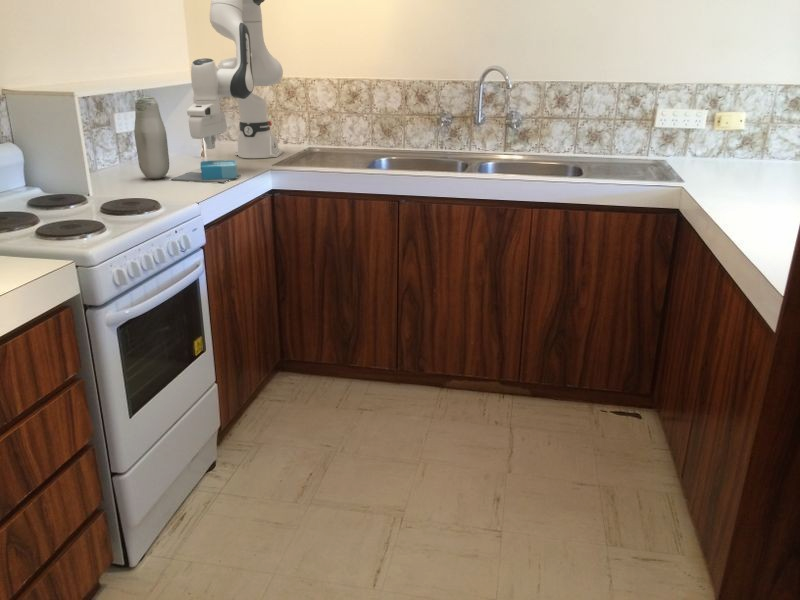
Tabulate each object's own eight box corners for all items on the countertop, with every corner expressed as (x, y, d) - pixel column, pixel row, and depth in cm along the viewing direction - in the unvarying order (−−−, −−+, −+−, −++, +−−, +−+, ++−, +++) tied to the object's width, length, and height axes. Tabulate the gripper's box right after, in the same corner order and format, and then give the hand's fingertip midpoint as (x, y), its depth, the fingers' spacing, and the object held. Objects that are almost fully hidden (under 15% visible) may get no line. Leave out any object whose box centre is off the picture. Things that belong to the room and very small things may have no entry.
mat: (190, 173, 246) (189, 172, 246) (240, 176, 242) (240, 174, 241) (170, 180, 234) (170, 178, 234) (223, 183, 230) (223, 181, 230)
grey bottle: (144, 175, 241) (133, 94, 231) (174, 175, 242) (164, 94, 232) (137, 181, 232) (125, 97, 222) (167, 181, 233) (157, 96, 223)
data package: (234, 159, 244) (236, 165, 233) (235, 172, 246) (237, 178, 235) (200, 161, 241) (200, 167, 230) (201, 173, 243) (202, 180, 232)
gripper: (213, 105, 244) (217, 144, 249) (184, 110, 226) (188, 152, 231) (229, 105, 243) (232, 144, 248) (201, 111, 224) (205, 153, 229)
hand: (211, 148), depth 239 cm, fingers closed
